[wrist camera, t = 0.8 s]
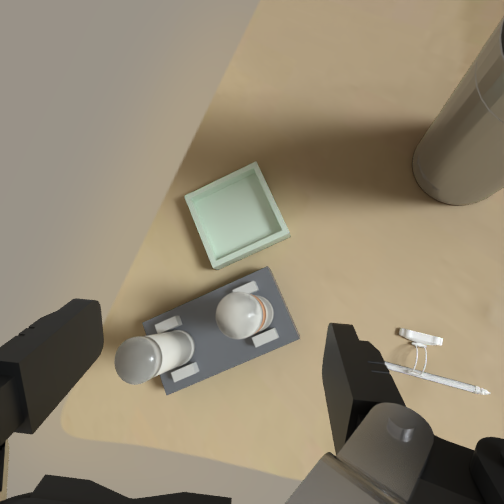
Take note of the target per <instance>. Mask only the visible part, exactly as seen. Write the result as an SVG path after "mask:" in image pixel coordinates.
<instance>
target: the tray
mask: <svg viewBox="0 0 504 504" xmlns="http://www.w3.org/2000/svg"><path fill="white" fill-rule="evenodd" d="M184 197H185V200H186V202H187V205H188V207H189V210H190V212H191V215H192V217H193V220H194V222H195V225H196V227H197V230H198V232H199V235H200V237H201V240H202V242H203V245H204V247H205V250H206V252H207V255H208V257H209V260H210V262H211V265H212V267H213V268H214V269H216V270H219V269H221V268H223V267H226V266H228V265H230V264H232V263H234V262H237V261H239V260H241V259H243V258H245V257H248V256H250V255H252V254H254V253H256V252H259V251H261V250H263V249H265V248H267V247H269V246H272V245H274V244H276V243H278V242H280V241H283V240H285V239H287V238H289V237H291V236H290V232H289V230H288V228H287V226H286V224H285V222H284V219H283V217H282V215H281V213H280V211H279V209H278V207H277V205H276V202H275V200H274V198H273V196H272V194H271V192H270V190H269V187H268V185H267V183H266V181H265V179H264V177H263V175H262V173H261V170H260V168H259V166H258V164H257V162H253V163H251V164H249V165H247V166H245V167H243V168H241V169H239V170H237V171H235V172H233V173H231V174H229V175H227V176H224V177H222V178H220V179H218V180H216V181H214V182H212V183H210V184H208V185H206V186H204V187H202V188H200V189H198V190H196V191H193V192H191V193H189V194H187V195H185V196H184Z"/></svg>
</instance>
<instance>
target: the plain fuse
mask: <svg viewBox="0 0 504 504" xmlns="http://www.w3.org/2000/svg"><path fill="white" fill-rule="evenodd" d="M194 353H195V341H194V339H193V337H192V336H191V335H190V334H189V333H188V332H186V331H184V330H174V331H170V332H165V333H160V334H154V335H148V336H138V337H133V338H129V339H127V340H125V341H124V342H123V343H122V344H121V345H120V346H119V348H118V350H117V352H116V355H115V369H116V371H117V374H118V375H119V377H120V378H121V379H122V380H123V381H125V382H126V383H129V384H134V385H135V384H141V383H144V382H146V381H148V380H150V379H152V378H153V377H155V376H158V375H160V374H162V373H164V372H167V371H169V370H171V369H173V368H176V367H178V366H181V365H184V364H186V363H187V362H189V361H190V360H191V359H192V357H193V356H194Z"/></svg>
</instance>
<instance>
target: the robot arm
mask: <svg viewBox="0 0 504 504" xmlns="http://www.w3.org/2000/svg"><path fill="white" fill-rule="evenodd" d="M412 167H413V172H414V176H415V178H416V180H417V183H418V184H419V185H420V187H421V188H422V189H423V190H424V191H425V192H426V193H427V194H428V195H429V196H431V197H433V198H435V199H436V200H438V201H441V202H444V203H447V204H453V205H469V204H473V203H477V202H480V201H482V200H484V199H486V198H488V197H489V196H491V195H493V194H494V193H496V192H497V191H499V190H501V189H502V188H504V16H503V18H502V19H501V21H500V22H499V24H498V25H497V27H496V28H495V30H494V31H493V33H492V34H491V36H490V37H489V39H488V40H487V42H486V43H485V45H484V46H483V48H482V50H481V51H480V53H479V54H478V56H477V57H476V59H475V60H474V62H473V63H472V65H471V66H470V68H469V69H468V71H467V72H466V74H465V75H464V77H463V78H462V80H461V81H460V83H459V84H458V86H457V87H456V89H455V90H454V92H453V93H452V95H451V96H450V98H449V99H448V101H447V102H446V104H445V105H444V107H443V108H442V110H441V111H440V113H439V114H438V116H437V117H436V119H435V120H434V122H433V123H432V124H431V126H430V127H429V129H428V130H427V132H426V133H425V135H424V136H423V138H422V139H421V141H420V142H419V144H418V146H417V148H416V149H415V152H414V156H413V164H412ZM103 343H104V337H103V327H102V316H101V307H100V304H99V302H98V301H96V300H85V299H73V300H71V301H70V302H69V303H67V304H66V305H65V306H63V307H62V308H61V309H59V310H58V311H56V312H53V313H51V314H49V315H46V316H44V317H42V318H40V319H39V320H37V321H36V322H34V323H33V324H32V325H30V326H29V328H26V329H25V330H24V331H22V332H21V333H19V335H18V336H15V337H14V338H12V339H11V340H10V341H8V342H7V343H5V344H4V345H3V346H1V347H0V504H231V499H232V498H228V497H220V496H212V495H204V494H196V493H188V492H182V493H174V494H167V495H159V496H152V497H145V498H137V499H132V498H128V497H125V496H123V495H121V494H119V493H117V492H114V491H112V490H110V489H108V488H106V487H104V486H101V485H99V484H97V483H95V482H93V481H90V480H85V479H77V478H69V477H61V476H52V475H45V476H44V477H43V479H42V480H41V481H40V483H39V484H38V486H37V487H36V488H35V490H34V491H33V492H31V493H27V494H22V495H18V496H14V497H11V498H8V499H6V497H7V479H8V461H9V443H8V438H9V437H10V435H11V434H12V433H13V432H17V433H26V434H33V433H34V432H35V431H36V430H37V428H39V426H40V425H41V424H42V423H43V421H44V420H45V419H46V418H47V417H48V416H49V414H50V413H51V412H52V411H53V410H54V409H55V408H56V406H57V405H58V404H59V403H60V402H61V400H62V399H63V398H64V397H65V396H66V395H67V394H68V392H69V391H70V390H71V389H72V388H73V387H74V385H75V384H76V383H77V382H78V381H79V379H80V378H81V377H82V376H83V375H84V374H85V372H86V371H87V370H88V369H89V368H90V367H91V365H92V364H93V363H94V362H95V361H96V360H97V358H98V357H99V355H100V354H101V351H102V348H103ZM322 379H323V385H324V391H325V396H326V402H327V407H328V413H329V419H330V424H331V430H332V435H333V441H334V446H335V452H336V456H335V455H333V454H332V453H330V452H328V453H326V454H325V455H324V456H323V457H322V458H321V459H320V460H319V461H318V463H317V464H316V465H315V466H314V468H313V469H312V470H311V471H310V473H309V474H308V475H307V476H306V478H305V479H304V480H303V481H302V483H301V484H300V485H299V486H298V488H297V489H296V490H295V492H294V493H293V494H292V495H291V497H290V498H289V499H288V501H287V502H286V503H285V504H504V439H501V438H496V437H486V438H482V439H481V440H479V441H478V443H477V445H476V448H475V451H474V450H471V449H469V448H466V447H463V446H460V445H457V444H454V443H452V442H449V441H446V440H444V439H441V438H439V437H437V436H435V435H434V434H433V431H432V429H431V427H430V425H429V424H428V423H427V422H426V420H425V419H424V418H423V417H421V416H420V415H419V414H418V413H416V412H415V411H413V410H411V409H409V408H407V407H406V405H405V403H404V401H403V399H402V397H401V395H400V393H399V391H398V389H397V387H396V385H395V383H394V380H393V378H392V376H391V374H389V370H388V368H387V366H386V365H385V362H384V360H383V358H382V356H381V353H380V351H379V350H377V349H376V348H375V347H374V346H373V345H372V344H371V343H370V342H369V341H360V340H359V339H358V336H357V334H356V331H355V329H354V327H353V325H349V324H338V323H329V326H328V331H327V338H326V344H325V351H324V357H323V365H322Z"/></svg>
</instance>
